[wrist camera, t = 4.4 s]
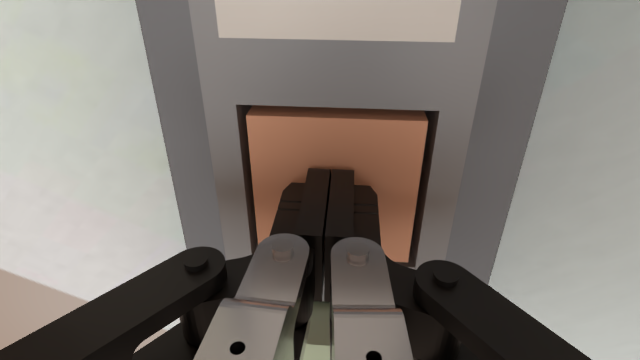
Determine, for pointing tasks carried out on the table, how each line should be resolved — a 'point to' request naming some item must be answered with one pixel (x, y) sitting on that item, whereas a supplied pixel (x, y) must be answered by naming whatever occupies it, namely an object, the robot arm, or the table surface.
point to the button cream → (339, 19)
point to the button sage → (318, 333)
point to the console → (355, 92)
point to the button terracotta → (340, 160)
